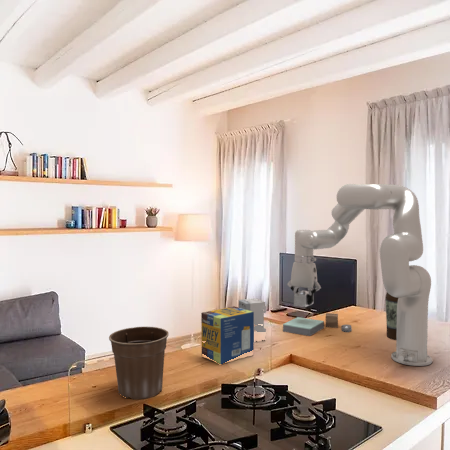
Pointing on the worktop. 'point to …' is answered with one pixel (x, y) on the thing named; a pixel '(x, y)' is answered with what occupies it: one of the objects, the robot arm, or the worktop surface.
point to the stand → (303, 326)
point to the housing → (301, 298)
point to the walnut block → (331, 320)
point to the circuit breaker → (255, 311)
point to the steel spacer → (346, 328)
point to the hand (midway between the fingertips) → (303, 302)
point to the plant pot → (139, 360)
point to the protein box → (227, 333)
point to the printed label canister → (391, 316)
